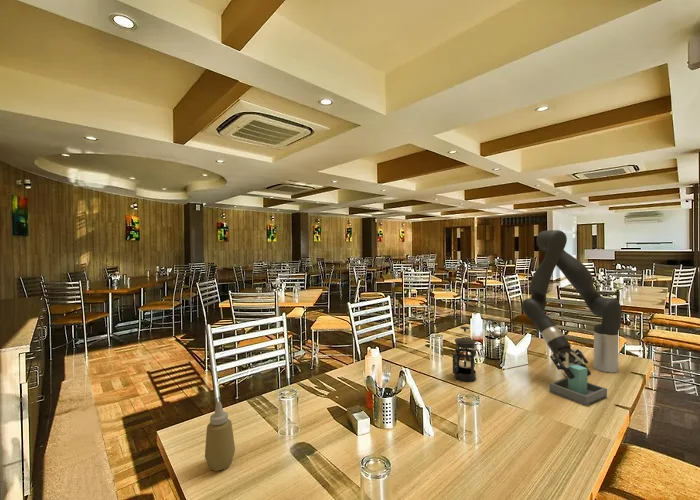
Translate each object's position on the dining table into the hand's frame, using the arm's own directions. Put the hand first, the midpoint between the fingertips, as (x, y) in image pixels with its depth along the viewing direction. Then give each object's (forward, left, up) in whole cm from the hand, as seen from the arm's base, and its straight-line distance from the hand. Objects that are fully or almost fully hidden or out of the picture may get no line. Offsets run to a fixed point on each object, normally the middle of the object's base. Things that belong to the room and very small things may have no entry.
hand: (581, 376), depth 135 cm
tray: (0, -1, -8) cm, 8 cm away
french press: (+26, -35, -8) cm, 44 cm away
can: (-16, -11, -8) cm, 21 cm away
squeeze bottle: (+130, -27, -8) cm, 133 cm away
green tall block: (0, -1, -7) cm, 7 cm away
